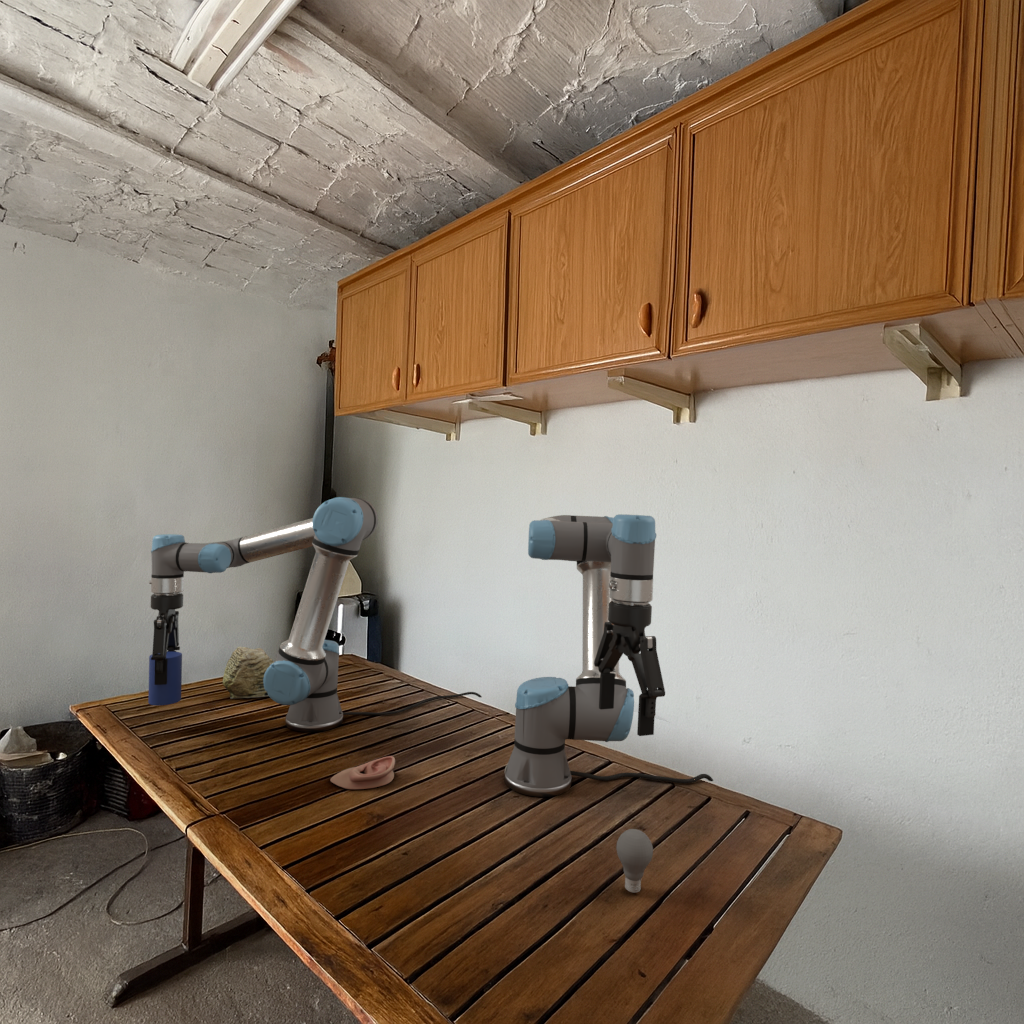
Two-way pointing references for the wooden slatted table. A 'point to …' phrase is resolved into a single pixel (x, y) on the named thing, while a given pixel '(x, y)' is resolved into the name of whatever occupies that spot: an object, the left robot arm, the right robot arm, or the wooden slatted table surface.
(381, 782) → the anatomical model
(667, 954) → the wooden slatted table surface
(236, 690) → the fossil
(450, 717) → the wooden slatted table surface
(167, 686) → the canister
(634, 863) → the light bulb
